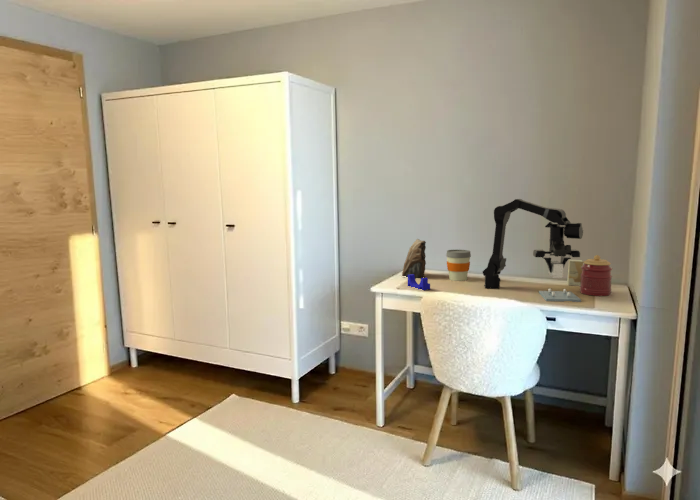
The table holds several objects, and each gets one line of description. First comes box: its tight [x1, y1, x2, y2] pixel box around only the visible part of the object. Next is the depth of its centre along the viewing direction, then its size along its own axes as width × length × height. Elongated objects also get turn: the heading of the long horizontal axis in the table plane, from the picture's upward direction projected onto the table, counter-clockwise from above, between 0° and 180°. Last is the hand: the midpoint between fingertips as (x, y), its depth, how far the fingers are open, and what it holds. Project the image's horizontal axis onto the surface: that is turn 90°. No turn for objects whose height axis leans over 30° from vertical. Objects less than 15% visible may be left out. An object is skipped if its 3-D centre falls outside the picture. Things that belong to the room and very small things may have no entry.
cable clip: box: [407, 274, 431, 291], centre depth 248 cm, size 12×4×6 cm, turn 30°
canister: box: [579, 254, 613, 297], centre depth 232 cm, size 13×13×18 cm
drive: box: [548, 260, 564, 279], centre depth 227 cm, size 4×9×6 cm, turn 172°
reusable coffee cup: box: [445, 249, 472, 282], centre depth 268 cm, size 13×13×15 cm
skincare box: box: [566, 259, 584, 287], centre depth 251 cm, size 6×4×12 cm
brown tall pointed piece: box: [401, 238, 427, 279], centre depth 276 cm, size 13×13×20 cm
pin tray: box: [538, 288, 582, 303], centre depth 226 cm, size 14×16×3 cm
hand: (555, 272), depth 227 cm, fingers closed on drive, 4 cm apart
